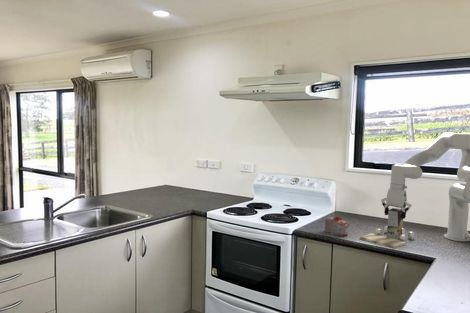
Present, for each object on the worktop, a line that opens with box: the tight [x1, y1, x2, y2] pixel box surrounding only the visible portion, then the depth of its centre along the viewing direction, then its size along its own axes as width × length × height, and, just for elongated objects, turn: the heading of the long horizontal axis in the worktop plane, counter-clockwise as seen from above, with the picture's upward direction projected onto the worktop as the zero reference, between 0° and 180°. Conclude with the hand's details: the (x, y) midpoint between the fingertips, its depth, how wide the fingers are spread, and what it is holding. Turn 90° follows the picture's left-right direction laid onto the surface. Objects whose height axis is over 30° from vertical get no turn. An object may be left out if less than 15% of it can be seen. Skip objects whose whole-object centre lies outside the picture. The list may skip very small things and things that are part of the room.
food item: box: [324, 216, 350, 237], centre depth 223 cm, size 14×8×10 cm, turn 39°
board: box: [359, 233, 407, 249], centre depth 211 cm, size 20×12×1 cm, turn 40°
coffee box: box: [386, 207, 404, 241], centre depth 218 cm, size 9×6×16 cm
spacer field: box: [375, 225, 415, 243], centre depth 220 cm, size 17×16×4 cm
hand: (394, 216), depth 218 cm, fingers open, 9 cm apart
